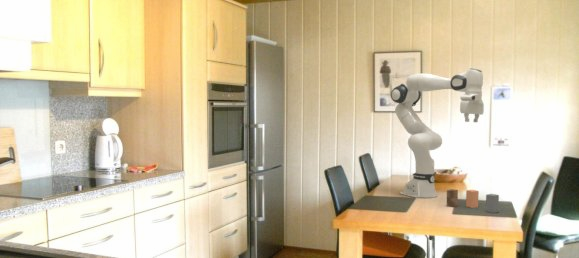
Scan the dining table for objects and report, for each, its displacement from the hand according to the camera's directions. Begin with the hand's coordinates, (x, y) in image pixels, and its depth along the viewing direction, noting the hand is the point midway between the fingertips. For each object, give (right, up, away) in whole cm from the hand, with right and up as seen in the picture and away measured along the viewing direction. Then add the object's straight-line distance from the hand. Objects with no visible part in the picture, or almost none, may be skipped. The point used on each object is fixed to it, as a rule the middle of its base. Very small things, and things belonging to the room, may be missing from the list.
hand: (471, 122), depth 286 cm
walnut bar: (-12, -47, -3) cm, 48 cm away
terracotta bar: (-1, -47, -5) cm, 47 cm away
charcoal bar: (+5, -48, -17) cm, 51 cm away
